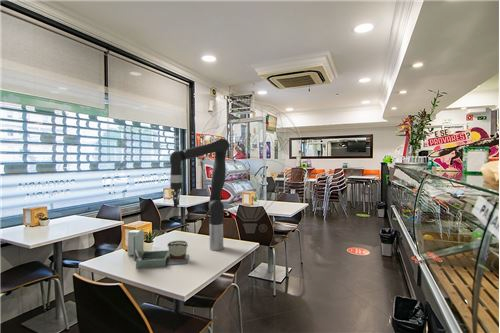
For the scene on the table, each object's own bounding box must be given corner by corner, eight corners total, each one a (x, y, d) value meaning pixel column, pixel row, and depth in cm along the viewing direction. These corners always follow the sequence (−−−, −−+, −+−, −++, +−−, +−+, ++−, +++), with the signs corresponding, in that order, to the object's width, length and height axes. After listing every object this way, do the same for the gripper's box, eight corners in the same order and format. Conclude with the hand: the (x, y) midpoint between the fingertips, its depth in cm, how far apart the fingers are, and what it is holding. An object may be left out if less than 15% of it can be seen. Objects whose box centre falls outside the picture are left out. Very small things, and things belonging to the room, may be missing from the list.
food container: (190, 256, 163) (190, 240, 162) (187, 260, 156) (187, 243, 156) (171, 256, 163) (171, 240, 163) (167, 259, 157) (167, 243, 157)
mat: (188, 255, 166) (188, 254, 166) (186, 264, 152) (186, 263, 152) (170, 256, 164) (170, 255, 164) (167, 265, 150) (167, 264, 150)
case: (170, 256, 164) (169, 228, 164) (165, 266, 148) (165, 235, 148) (141, 258, 162) (141, 229, 162) (133, 268, 146) (133, 236, 146)
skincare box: (127, 255, 167) (127, 232, 167) (131, 252, 173) (131, 229, 173) (140, 255, 167) (140, 232, 167) (144, 252, 173) (143, 229, 173)
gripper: (180, 182, 166) (181, 208, 167) (183, 181, 180) (183, 204, 181) (168, 182, 165) (168, 208, 166) (172, 181, 179) (172, 204, 180)
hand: (176, 206), depth 173 cm, fingers open, 8 cm apart
